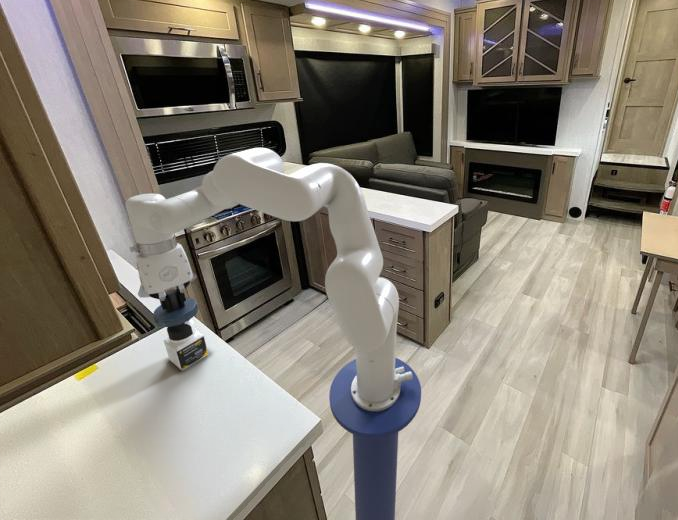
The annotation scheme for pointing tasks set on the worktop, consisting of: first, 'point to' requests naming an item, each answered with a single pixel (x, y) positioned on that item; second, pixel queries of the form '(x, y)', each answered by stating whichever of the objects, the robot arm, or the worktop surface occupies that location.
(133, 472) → the worktop surface
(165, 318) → the blue disc with peg
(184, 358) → the medicine bottle
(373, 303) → the robot arm
